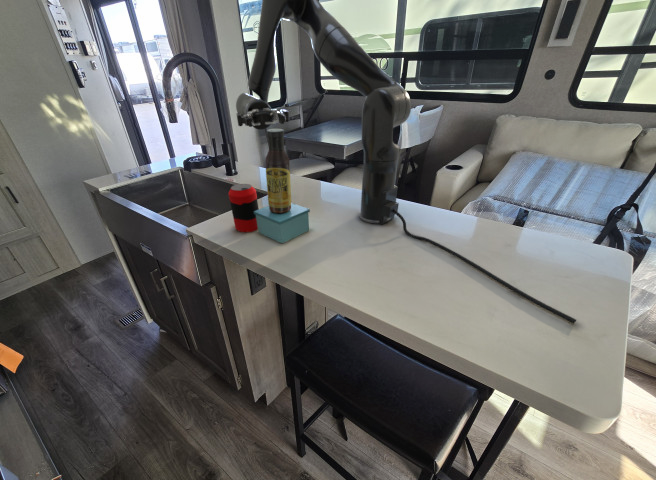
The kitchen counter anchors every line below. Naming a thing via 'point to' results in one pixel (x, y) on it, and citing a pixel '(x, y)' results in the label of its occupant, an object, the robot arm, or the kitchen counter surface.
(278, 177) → the sauce bottle
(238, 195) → the soda can
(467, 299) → the kitchen counter surface
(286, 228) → the storage box
